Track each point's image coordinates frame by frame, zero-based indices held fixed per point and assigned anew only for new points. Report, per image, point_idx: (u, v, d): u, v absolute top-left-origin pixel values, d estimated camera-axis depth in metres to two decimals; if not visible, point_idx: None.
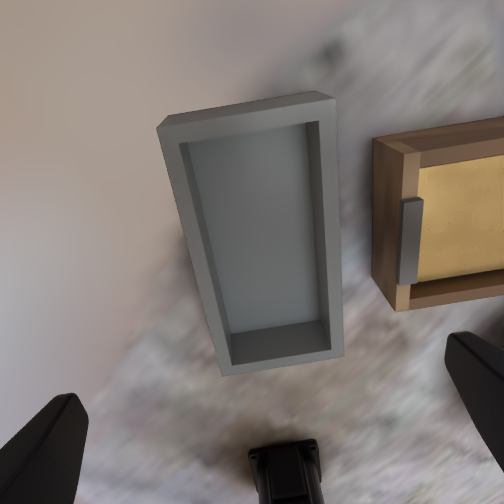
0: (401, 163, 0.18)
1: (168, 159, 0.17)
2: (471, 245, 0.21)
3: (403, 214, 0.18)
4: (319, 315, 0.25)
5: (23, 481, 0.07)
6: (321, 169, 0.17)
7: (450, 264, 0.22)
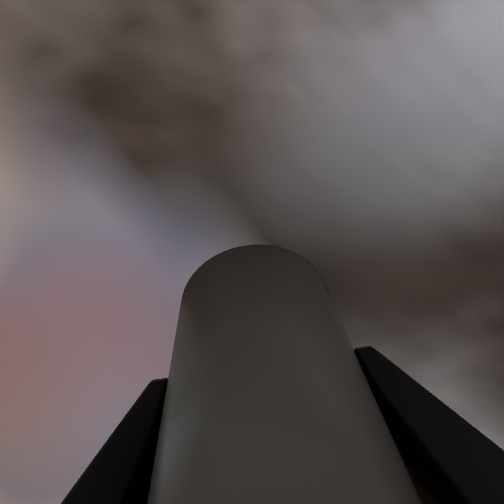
0: None
1: None
2: None
3: None
4: None
5: (146, 462, 0.06)
6: None
7: None
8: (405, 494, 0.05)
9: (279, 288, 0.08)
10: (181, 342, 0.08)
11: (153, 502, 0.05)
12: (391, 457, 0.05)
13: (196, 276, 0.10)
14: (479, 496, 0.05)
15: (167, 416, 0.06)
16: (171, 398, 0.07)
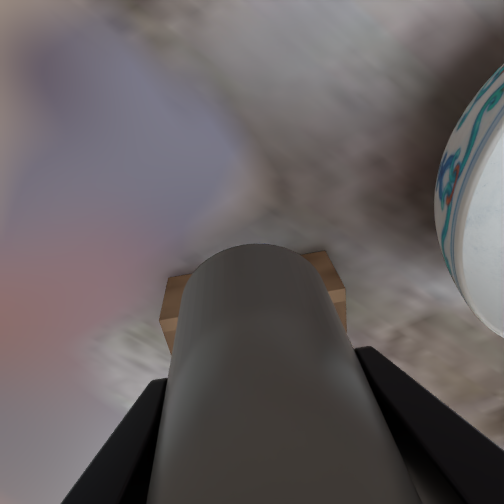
0: None
1: None
2: None
3: None
4: None
5: (146, 462, 0.06)
6: None
7: None
8: (405, 493, 0.05)
9: (279, 287, 0.08)
10: (180, 341, 0.08)
11: (152, 501, 0.05)
12: (391, 456, 0.05)
13: (196, 275, 0.10)
14: (479, 496, 0.05)
15: (167, 415, 0.06)
16: (171, 397, 0.07)
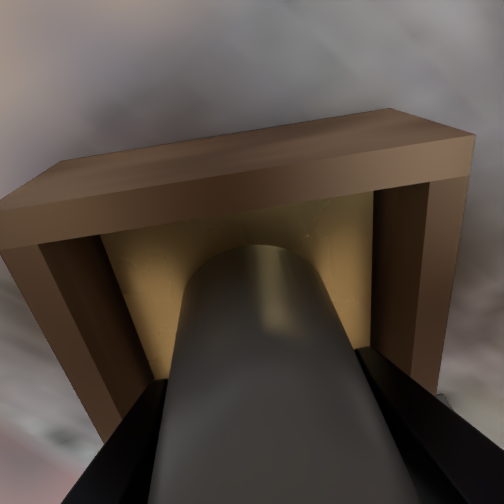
0: None
1: None
2: None
3: None
4: None
5: (146, 462, 0.06)
6: None
7: None
8: (406, 495, 0.05)
9: (279, 289, 0.08)
10: (181, 342, 0.08)
11: (153, 502, 0.05)
12: (392, 457, 0.05)
13: (196, 276, 0.10)
14: (479, 496, 0.05)
15: (167, 416, 0.06)
16: (171, 398, 0.07)
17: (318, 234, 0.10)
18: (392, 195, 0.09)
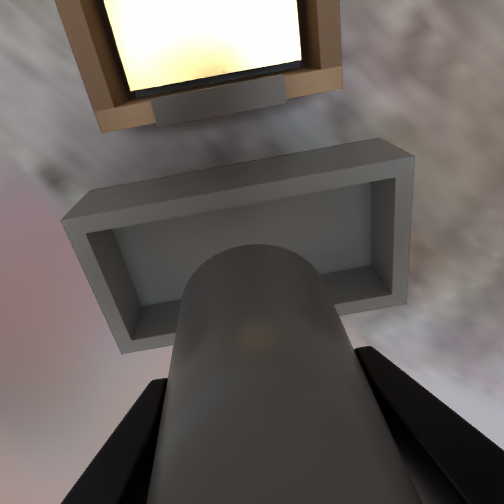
0: (115, 129, 0.14)
1: (146, 347, 0.19)
2: None
3: (173, 123, 0.14)
4: None
5: (146, 461, 0.06)
6: (135, 223, 0.16)
7: None
8: (405, 494, 0.05)
9: (279, 287, 0.08)
10: (181, 341, 0.08)
11: (152, 501, 0.05)
12: (391, 456, 0.05)
13: (196, 275, 0.10)
14: (479, 496, 0.05)
15: (167, 415, 0.06)
16: (171, 397, 0.07)
17: None
18: None
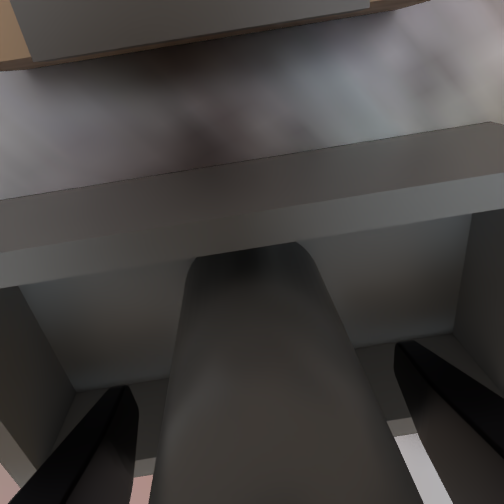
0: None
1: None
2: None
3: (74, 53, 0.05)
4: None
5: (92, 470, 0.07)
6: (21, 282, 0.08)
7: None
8: (380, 429, 0.06)
9: (275, 267, 0.09)
10: (185, 314, 0.09)
11: (164, 441, 0.06)
12: (370, 402, 0.06)
13: (199, 259, 0.11)
14: None
15: (174, 375, 0.07)
16: (178, 360, 0.08)
17: None
18: None
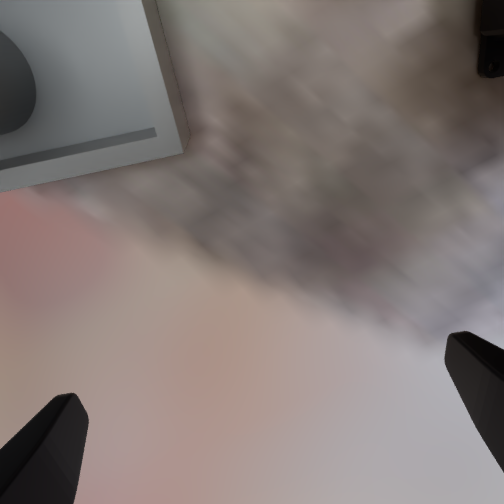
0: None
1: None
2: None
3: None
4: None
5: (23, 481, 0.07)
6: None
7: None
8: None
9: None
10: None
11: None
12: None
13: None
14: None
15: None
16: None
17: None
18: None
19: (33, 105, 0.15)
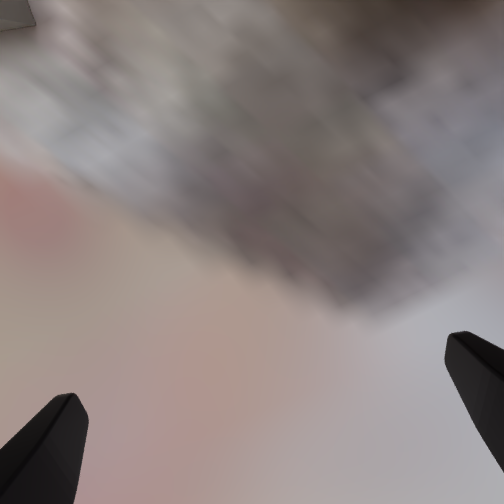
0: None
1: None
2: None
3: None
4: None
5: (23, 481, 0.07)
6: None
7: None
8: None
9: None
10: None
11: None
12: None
13: None
14: None
15: None
16: None
17: None
18: None
19: None
